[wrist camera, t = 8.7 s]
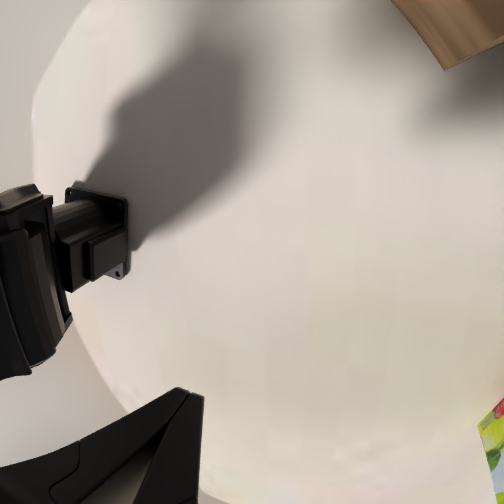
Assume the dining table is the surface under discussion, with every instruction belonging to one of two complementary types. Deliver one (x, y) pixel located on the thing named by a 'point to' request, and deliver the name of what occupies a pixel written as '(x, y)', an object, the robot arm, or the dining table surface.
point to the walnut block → (456, 26)
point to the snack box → (495, 447)
